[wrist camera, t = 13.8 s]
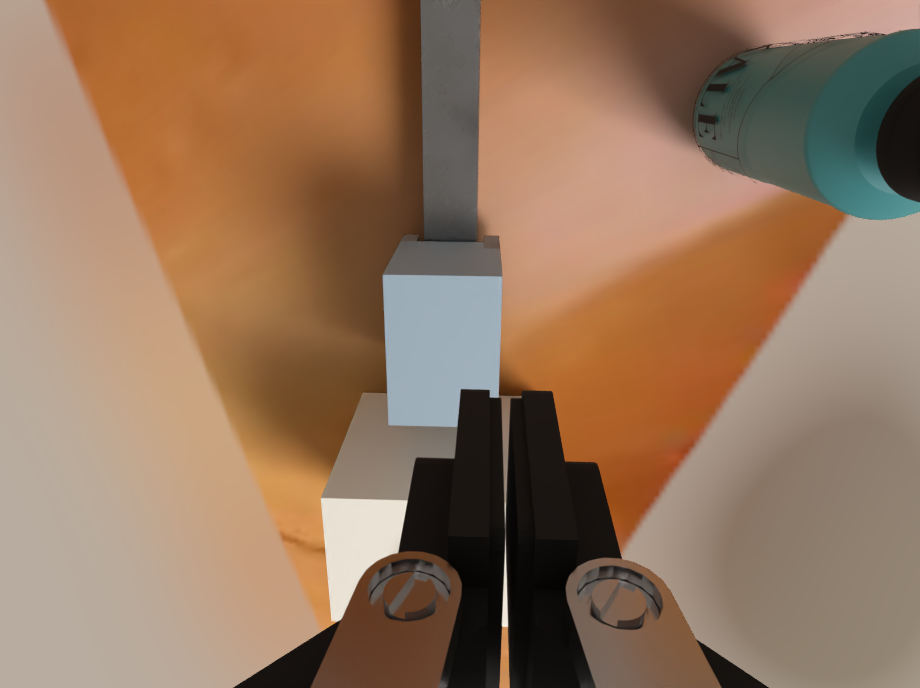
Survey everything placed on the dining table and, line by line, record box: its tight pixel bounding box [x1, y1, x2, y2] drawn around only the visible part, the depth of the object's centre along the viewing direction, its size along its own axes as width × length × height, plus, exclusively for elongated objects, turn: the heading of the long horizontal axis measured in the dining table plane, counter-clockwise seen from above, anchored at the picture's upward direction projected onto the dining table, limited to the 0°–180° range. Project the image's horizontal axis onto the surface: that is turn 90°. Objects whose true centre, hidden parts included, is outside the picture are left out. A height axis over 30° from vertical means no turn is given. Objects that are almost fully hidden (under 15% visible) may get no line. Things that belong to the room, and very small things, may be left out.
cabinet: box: [321, 393, 522, 627], centre depth 40 cm, size 8×12×12 cm, turn 90°
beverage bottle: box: [693, 29, 920, 220], centre depth 27 cm, size 6×7×20 cm
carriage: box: [383, 234, 502, 427], centre depth 36 cm, size 8×6×9 cm
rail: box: [421, 0, 481, 242], centre depth 38 cm, size 25×3×2 cm, turn 0°
